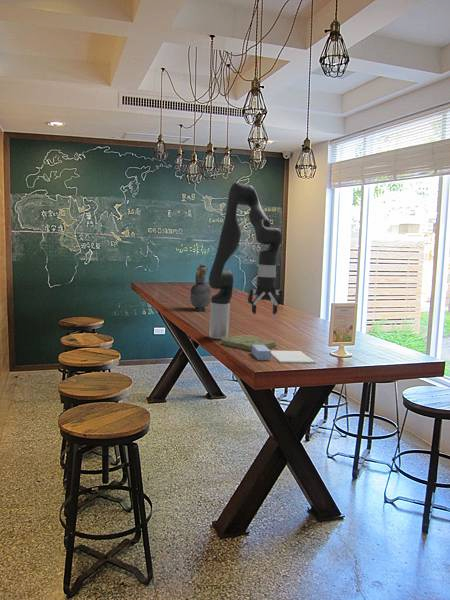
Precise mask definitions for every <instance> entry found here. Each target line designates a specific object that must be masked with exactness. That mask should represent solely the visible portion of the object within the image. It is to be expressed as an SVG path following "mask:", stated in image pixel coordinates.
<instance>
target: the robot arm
mask: <svg viewBox="0 0 450 600" xmlns="http://www.w3.org/2000/svg"><path fill="white" fill-rule="evenodd" d="M238 205H242V206H248V207H249V208H250V209H249V212H248V213H249V214H248V218H249V221H250V223H251V226H253V228H254V232H255V239H256V241H257V242H258V243H259V244H260V245H269V246H268V248H267V249H265V250H264V249H263V250H261V251H259V257H258V258H259V259H258V269H257V277H256V278H257V280H256V289H254V288H253V289H252V288H249V289H248V295H247V303H249V304H250V305H251V313H252V314H253V315H256V314H257V304H258V302H260V301H261V300H262V301H265V300H266V301H271V303H272V304H273V305H272V315H276V314H277V313H278V306H280V305H282V303H283V291H282V290H281V289H276V276H277V268H276V267H277V266H276V265H277V254H278V252H279V248H280V245H281V243H282V239H283V234H282V230H280V229H279V228H278V227H271V222H270V219H269V218H268V216H267V215H266V213H265V211H264V210H263V207H262V205H261V203H260V200H259V196H258V194H257V191H256V189H255V187H253V185H250V184H247V183H246V184H245V183H241V182H240V183H239V182H234V183H232V185H231V186H230V188H229V192H228V199H227V205H226V212H225V216H224V221H223V226H222V229H221V232H220V237H219V241H218V245H217V248H216V249H217V250H216V253H215V257H214V260H213V262H212V266H211V269H210V271H209V275H208V284H209V285H208V286H209V288H211V289H214V290H219V291H218V292H217V293H215V294H214V295H212V296H211V298H210V317H209V329H208V331H209V333H208V334H209V335H208V337H209V338H211V339H214V340H215V339H216V340H222V339H225V338H227V337H229V325H230V309H231V308H230V306H231V299H232V297H233V288H234V274H233V272H232V271H231V270H230V269H225V265H226V264H227V262H228V260H229V259H230V258H231V256H233V255H234V253H235V252H236V251H237V249H238V247H239V245H240V241H241V235H242V231H241V230H242V229H241V225H240V224H239V223H240V222H239V221H238V218H237V211H238ZM255 294H256V296H255V298H254V299H253V295H255ZM275 294H276V295H277V301H276V299H275V297H274V295H275Z"/></svg>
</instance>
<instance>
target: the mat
mask: <svg viewBox="0 0 450 600" xmlns="http://www.w3.org/2000/svg"><path fill="white" fill-rule="evenodd" d="M270 351H271V357H273V358H274V359H275V360H277V361H278V362H279V363H281V364H283V363H284V364H294V363H295V364H316V361H315V360H313V359H312V358H311V357H310V356H308V355H307V354H306V353H304V352H303V351H301V350H270Z"/></svg>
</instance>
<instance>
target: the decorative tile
mask: <svg viewBox="0 0 450 600" xmlns="http://www.w3.org/2000/svg"><path fill="white" fill-rule="evenodd" d="M220 340H221V341H220V344H221V345H223V346H228V347H231V348H235V347H236V349H240V350H244V349H245V350H244V351H248V350H249V352H252V345H265V346H266V347H267V348H268V349H269V350H271V349H274V348H277V344H276V341H274V340H268V339H265V338H263V337H260V336H259V335H258V336H257V335H250V334H241V335H233V336H230V337H229V336H228V337H227V338H225V339H220Z"/></svg>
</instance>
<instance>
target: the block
mask: <svg viewBox="0 0 450 600" xmlns="http://www.w3.org/2000/svg"><path fill="white" fill-rule="evenodd" d="M271 351H272V350H271V349H268V348H267V347H266V346H265V345H252V351H251V354H252V355H253V356H254V357H255V359H256V358H257V359H256V360H258V361H271V359H272V358H271V357H272V355H271Z"/></svg>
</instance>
